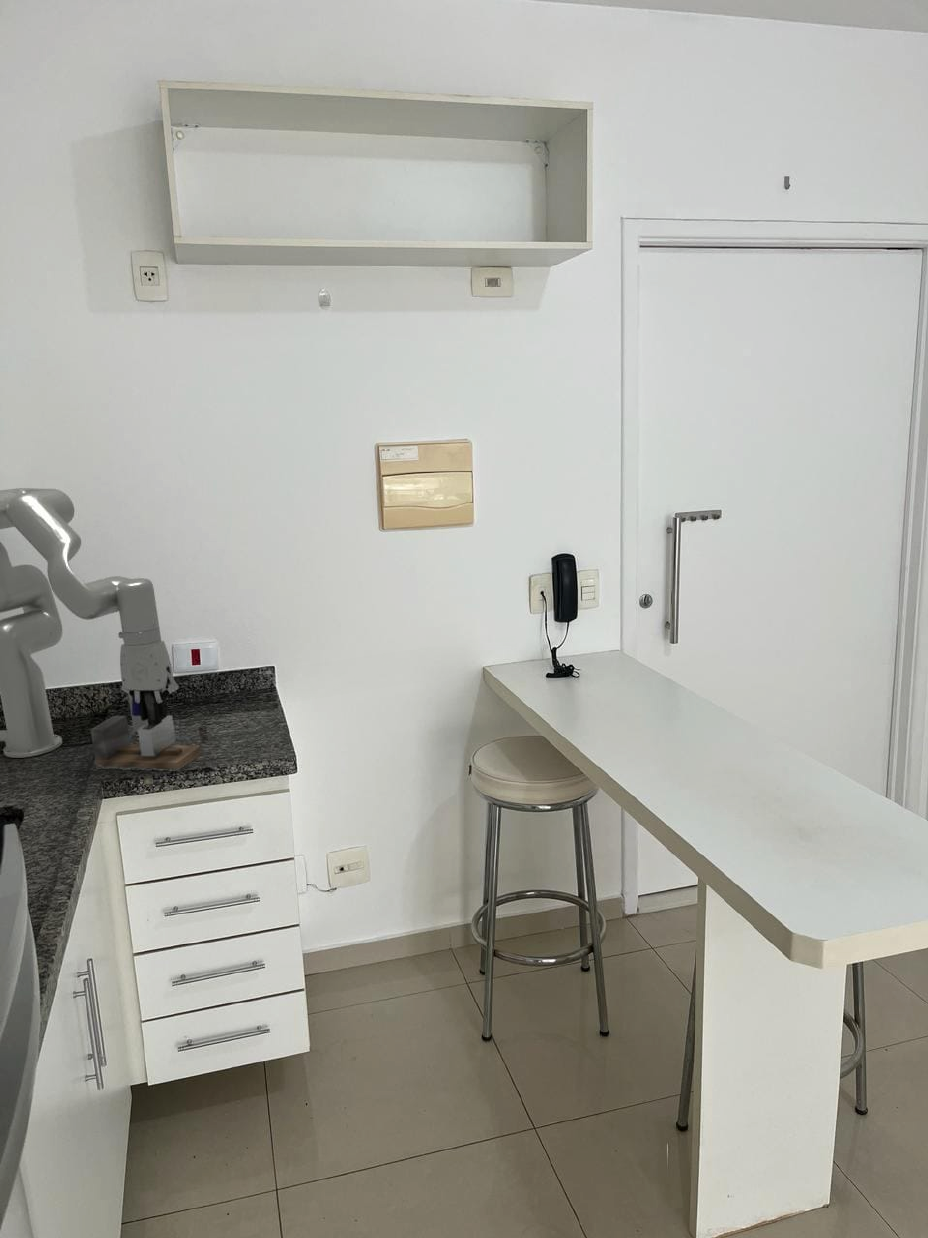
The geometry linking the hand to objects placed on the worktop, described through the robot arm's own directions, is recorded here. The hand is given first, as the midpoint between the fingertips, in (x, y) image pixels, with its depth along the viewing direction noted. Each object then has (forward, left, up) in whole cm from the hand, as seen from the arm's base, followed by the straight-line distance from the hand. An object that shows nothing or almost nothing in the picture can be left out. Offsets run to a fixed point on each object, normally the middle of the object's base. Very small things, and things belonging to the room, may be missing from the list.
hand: (154, 718), depth 204 cm
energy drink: (-14, +17, -10) cm, 24 cm away
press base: (-3, 0, -10) cm, 11 cm away
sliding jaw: (0, 0, -7) cm, 7 cm away
